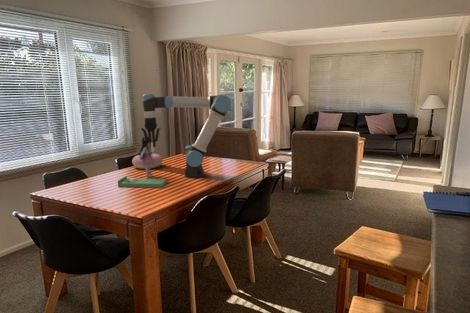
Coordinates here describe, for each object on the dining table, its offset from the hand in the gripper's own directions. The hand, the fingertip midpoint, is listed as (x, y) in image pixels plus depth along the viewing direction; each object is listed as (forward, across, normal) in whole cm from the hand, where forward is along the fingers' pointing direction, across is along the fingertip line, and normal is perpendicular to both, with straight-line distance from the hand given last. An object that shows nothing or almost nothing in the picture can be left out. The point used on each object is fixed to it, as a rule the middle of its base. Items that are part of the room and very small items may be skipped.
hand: (153, 151), depth 226 cm
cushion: (+22, +22, -47) cm, 56 cm away
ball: (+19, +14, +6) cm, 25 cm away
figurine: (+22, +10, -15) cm, 28 cm away
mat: (+22, +7, +6) cm, 23 cm away
